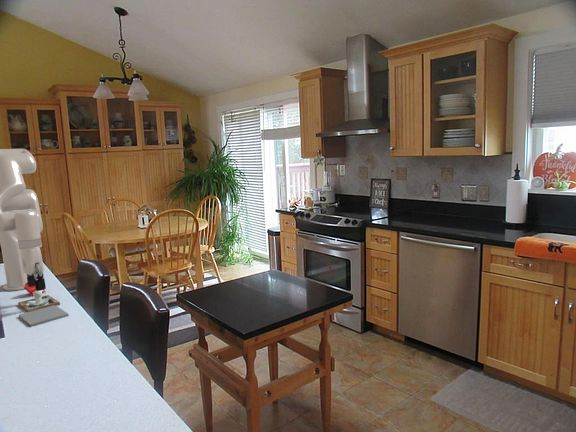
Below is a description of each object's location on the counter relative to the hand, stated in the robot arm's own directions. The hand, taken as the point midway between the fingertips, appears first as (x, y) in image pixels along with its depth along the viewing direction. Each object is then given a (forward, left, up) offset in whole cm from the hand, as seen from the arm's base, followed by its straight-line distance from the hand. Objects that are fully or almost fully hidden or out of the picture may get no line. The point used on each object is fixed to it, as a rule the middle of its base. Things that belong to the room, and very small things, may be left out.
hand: (37, 287), depth 164 cm
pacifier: (-1, 0, -7) cm, 7 cm away
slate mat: (+14, -3, -7) cm, 16 cm away
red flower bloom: (-17, +3, -7) cm, 18 cm away
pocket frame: (-1, 0, -7) cm, 7 cm away
